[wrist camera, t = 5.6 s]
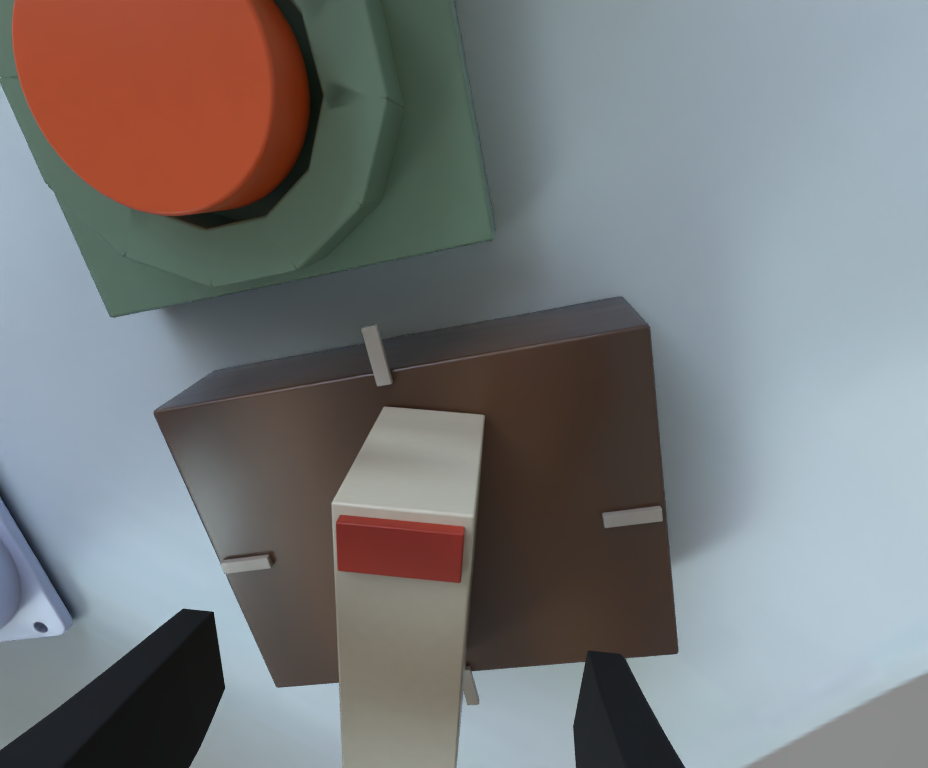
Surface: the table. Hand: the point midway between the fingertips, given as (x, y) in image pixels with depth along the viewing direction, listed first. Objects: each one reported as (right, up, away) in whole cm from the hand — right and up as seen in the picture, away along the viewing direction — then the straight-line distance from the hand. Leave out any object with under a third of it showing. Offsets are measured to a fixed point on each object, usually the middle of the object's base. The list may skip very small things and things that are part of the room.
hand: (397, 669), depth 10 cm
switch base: (+1, +3, +6) cm, 7 cm away
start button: (-4, +11, 0) cm, 12 cm away
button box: (-4, +12, +3) cm, 13 cm away
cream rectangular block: (0, +1, +4) cm, 4 cm away
